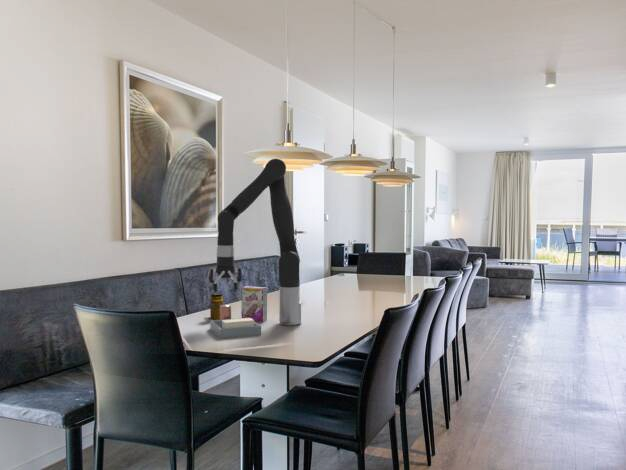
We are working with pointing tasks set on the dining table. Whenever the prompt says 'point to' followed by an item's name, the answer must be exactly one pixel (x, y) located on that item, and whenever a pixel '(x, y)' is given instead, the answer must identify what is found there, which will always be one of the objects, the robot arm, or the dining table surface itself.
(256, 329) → the tote
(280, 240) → the robot arm
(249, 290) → the candy bar box
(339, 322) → the dining table surface
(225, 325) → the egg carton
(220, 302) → the condiment
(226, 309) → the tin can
